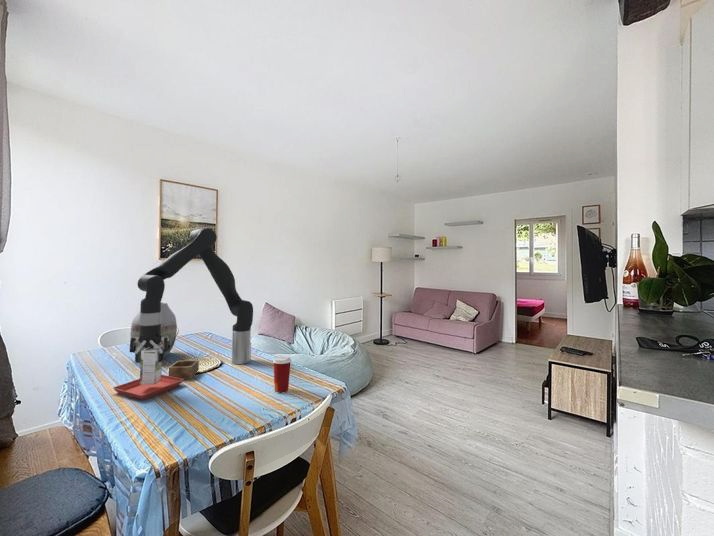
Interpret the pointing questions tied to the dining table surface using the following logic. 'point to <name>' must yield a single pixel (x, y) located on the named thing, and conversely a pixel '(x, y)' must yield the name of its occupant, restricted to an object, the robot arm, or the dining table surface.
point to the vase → (166, 326)
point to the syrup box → (150, 367)
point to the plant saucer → (148, 387)
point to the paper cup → (281, 373)
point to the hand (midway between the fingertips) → (150, 361)
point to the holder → (184, 369)
